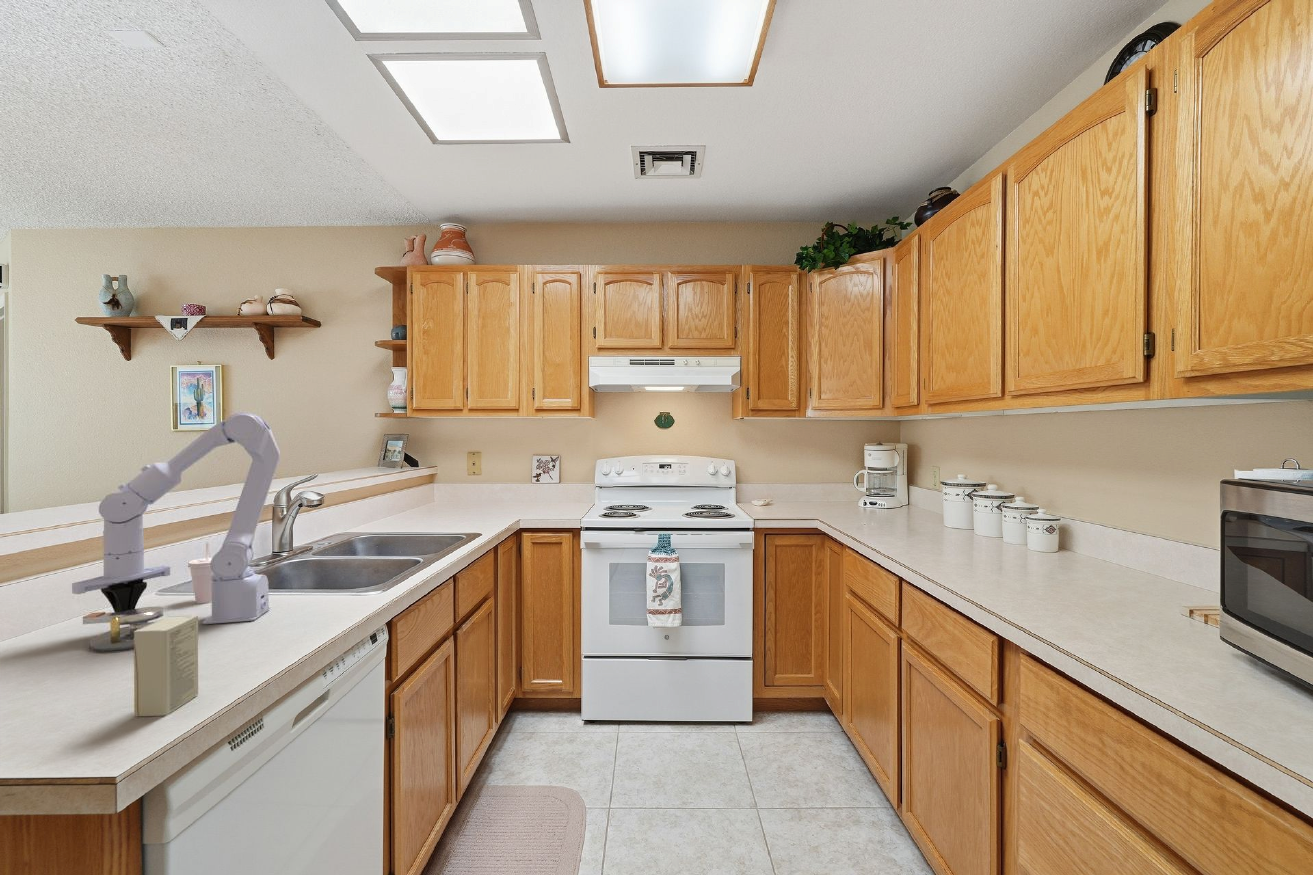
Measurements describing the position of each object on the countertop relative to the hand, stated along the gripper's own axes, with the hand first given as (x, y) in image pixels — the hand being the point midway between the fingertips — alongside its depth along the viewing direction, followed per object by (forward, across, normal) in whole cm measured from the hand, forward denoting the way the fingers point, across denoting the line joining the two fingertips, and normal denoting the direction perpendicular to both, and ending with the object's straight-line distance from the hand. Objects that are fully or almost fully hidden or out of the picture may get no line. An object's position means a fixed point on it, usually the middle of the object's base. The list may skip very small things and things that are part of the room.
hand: (124, 620), depth 108 cm
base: (+2, +1, +7) cm, 7 cm away
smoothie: (+3, -19, -7) cm, 20 cm away
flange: (-1, +2, +5) cm, 6 cm away
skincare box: (+3, +16, +43) cm, 46 cm away
